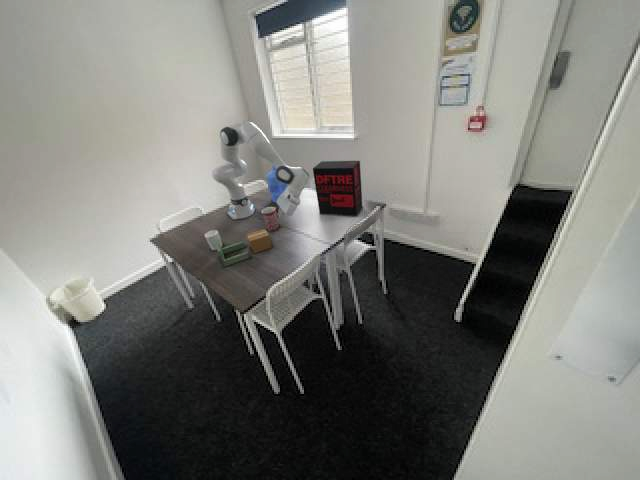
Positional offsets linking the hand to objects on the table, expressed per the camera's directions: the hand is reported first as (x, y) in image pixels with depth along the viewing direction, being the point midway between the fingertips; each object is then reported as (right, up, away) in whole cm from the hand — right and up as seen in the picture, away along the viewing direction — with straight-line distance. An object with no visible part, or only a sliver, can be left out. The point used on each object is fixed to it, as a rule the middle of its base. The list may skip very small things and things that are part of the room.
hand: (278, 216), depth 150 cm
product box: (+38, +7, +30) cm, 49 cm away
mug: (-6, -5, +23) cm, 24 cm away
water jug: (-8, +20, +63) cm, 66 cm away
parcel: (-11, -18, +4) cm, 21 cm away
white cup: (-40, -18, +11) cm, 45 cm away
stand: (-25, -23, 0) cm, 33 cm away
